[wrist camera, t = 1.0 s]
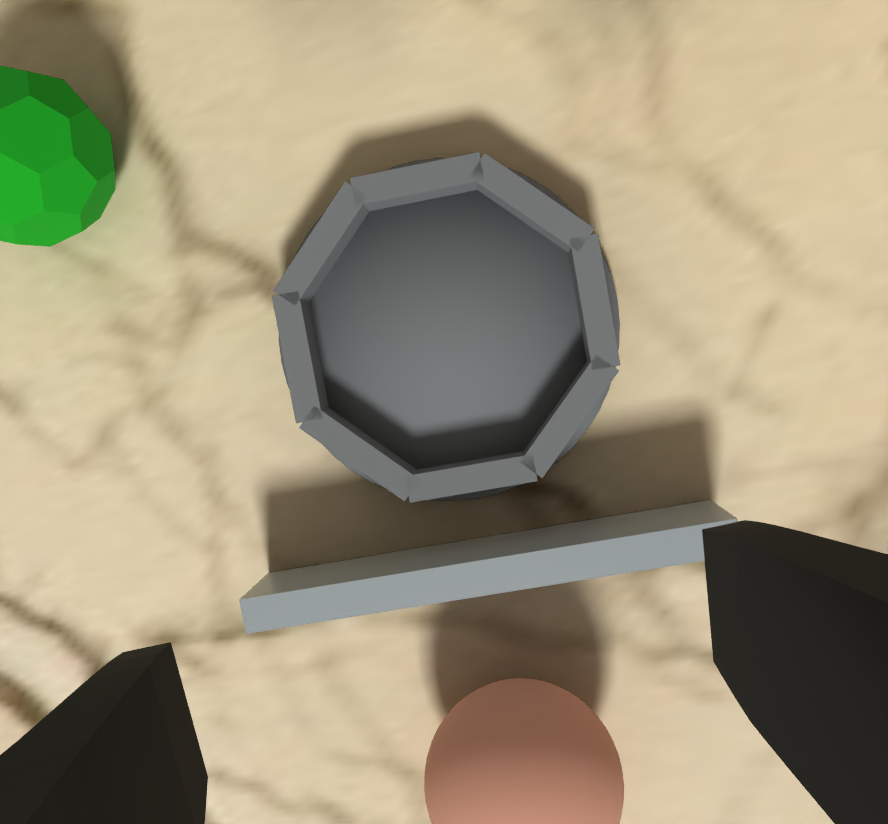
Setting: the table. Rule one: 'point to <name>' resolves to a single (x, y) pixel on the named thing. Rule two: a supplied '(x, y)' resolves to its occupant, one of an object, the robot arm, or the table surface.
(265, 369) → the table surface
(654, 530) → the low wall
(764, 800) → the table surface
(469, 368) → the gray octagonal bowl
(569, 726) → the ball
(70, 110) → the polyhedron
